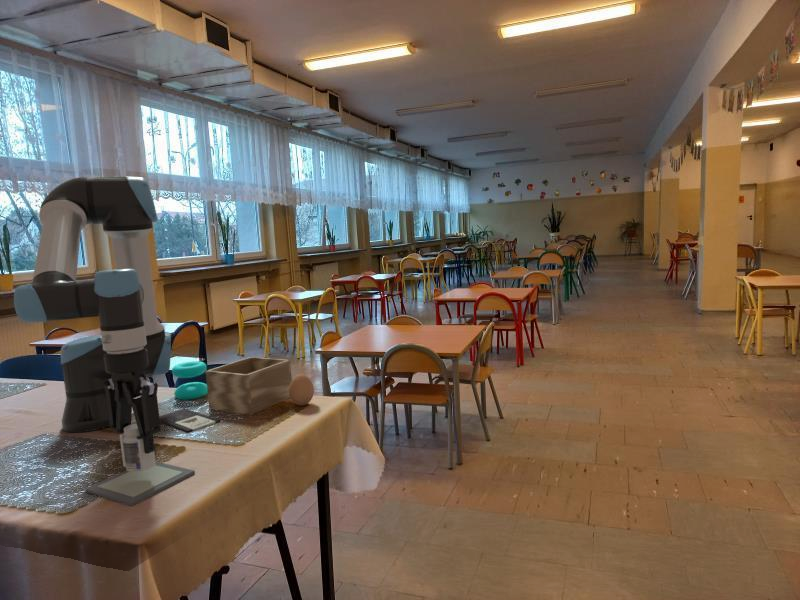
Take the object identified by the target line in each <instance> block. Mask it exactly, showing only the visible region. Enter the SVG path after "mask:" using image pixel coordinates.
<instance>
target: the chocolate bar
mask: <svg viewBox="0 0 800 600" xmlns="http://www.w3.org/2000/svg"><path fill="white" fill-rule="evenodd" d="M159 418H160V424H164V425H166V426H168V427H171V428H174V429H176V430H179V431H182V432H185V433H188V434H189V433H191V432H194V431H197V430H200V429H204V428H206V427H209V426H212V425H216V424H218V423H220V422H221V419H220V418H219V419H218V418H216V417H213V416H209V415H208V414H207V415H206V414H203V413H200V412H197V411H194V410H191V409H188V408H182V409H179V410H175V411H173V412H169V413H165V414H162V415H159Z"/></svg>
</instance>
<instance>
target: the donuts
mask: <svg viewBox="0 0 800 600" xmlns="http://www.w3.org/2000/svg"><path fill="white" fill-rule="evenodd" d="M207 369H208V368H207V364H206V362H204V361H199V360H198V361H197V360H196V361H195V360H194V361H185V362H181V363H177V364H176V365H174V366H173V367H172V369H171V373H172V375H173V376H174V377H175V378H180V379H188V378H189V379H190V378H195V377H199V376H200V375H202V374H204V373H205V371H207ZM206 395H208V392H207V383H204V382H199V381H193V382H187V383H183V384H181V385H179V386H178V387H176V389H175V390H174V398H176V399H178V400H183V401H187V400H194V399H199V398H202V397H204V396H206Z"/></svg>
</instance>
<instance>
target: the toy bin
mask: <svg viewBox="0 0 800 600" xmlns="http://www.w3.org/2000/svg"><path fill="white" fill-rule="evenodd" d="M204 373H205V380H206V381H205V382H206V385H207V392H208V393H207V401H208V409H209V410H212V409H213V411H218V410H221V411H220V412H225V411H228V412H227V413H231V412H236V413H235V414H238V413H241V415H244V414H247V415H246V416H252V415H255V414H257V413H259V412H262V411H263V409H264V410H265V409H268V408H270V407H272V405H273V406H274V404H275V405H277V404H279V403H282V402H283V400H284V401H285V400H288V399H291V398H290V395H289V386H290V383H291V381H292V379H293V377H292V367H291V359H283V358H282V359H281V358H271V357H257V356H250V357H246V358H243V359H240V360H235V361H233V362H230V363H227V364H223V365H221V366H218V367H213V368H210V369H208V370H207V369H206V371H205V372H204ZM278 402H279V403H278ZM276 403H277V404H276ZM254 413H255V414H254Z"/></svg>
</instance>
